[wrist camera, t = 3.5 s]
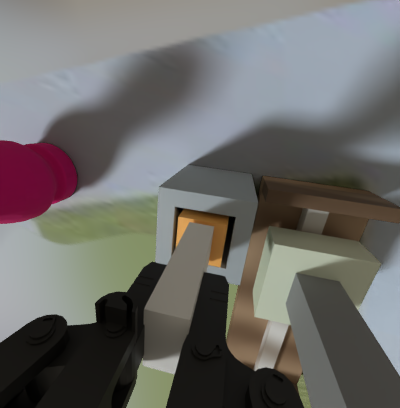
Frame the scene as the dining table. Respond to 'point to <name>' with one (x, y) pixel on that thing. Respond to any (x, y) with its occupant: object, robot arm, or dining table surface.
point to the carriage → (326, 316)
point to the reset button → (212, 220)
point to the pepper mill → (33, 179)
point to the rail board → (300, 221)
